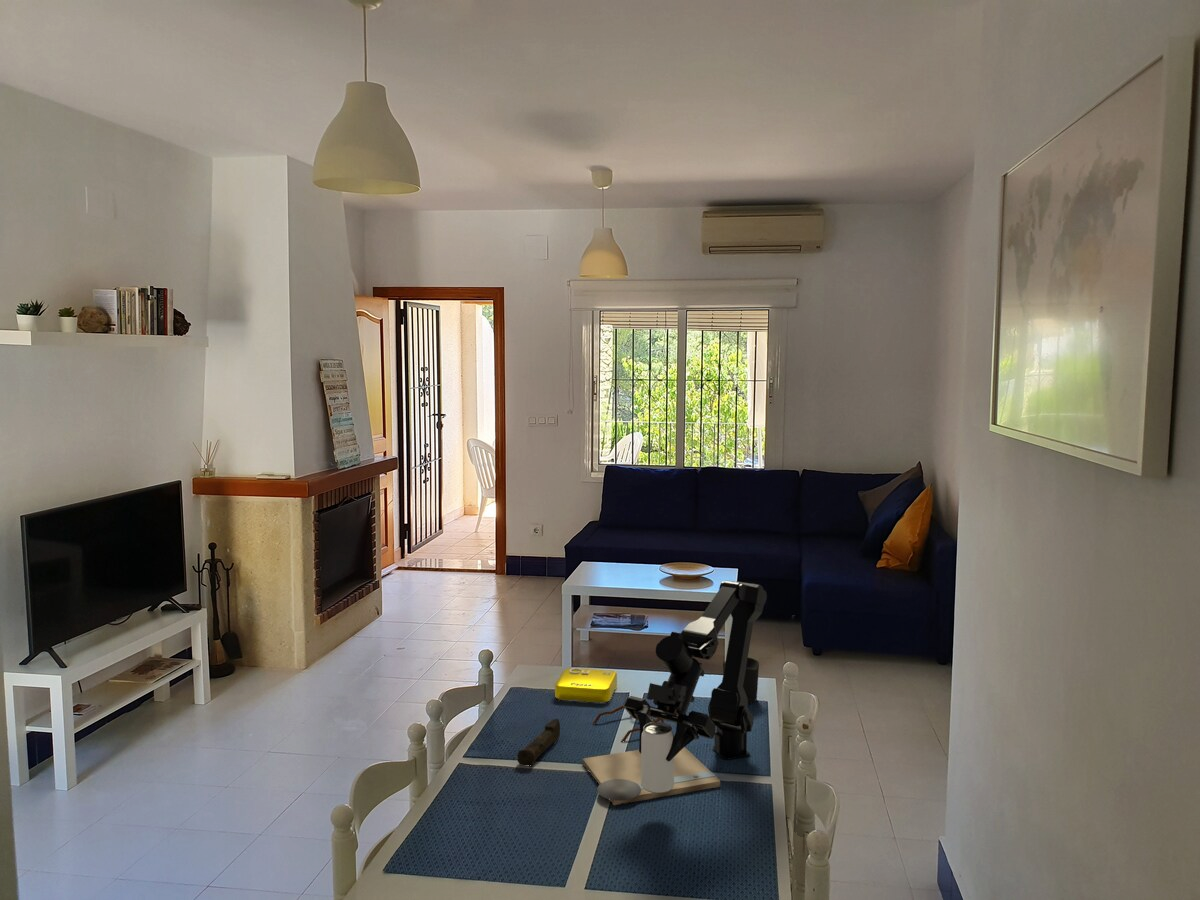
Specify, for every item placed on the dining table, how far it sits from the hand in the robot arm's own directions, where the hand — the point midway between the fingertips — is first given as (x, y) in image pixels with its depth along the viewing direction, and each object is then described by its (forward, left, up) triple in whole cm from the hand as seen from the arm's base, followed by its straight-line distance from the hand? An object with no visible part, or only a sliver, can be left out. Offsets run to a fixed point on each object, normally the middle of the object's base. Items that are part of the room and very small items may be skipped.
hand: (653, 756), depth 173 cm
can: (-1, -1, -7) cm, 7 cm away
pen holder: (-46, -50, -12) cm, 69 cm away
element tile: (-9, -68, -13) cm, 70 cm away
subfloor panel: (-5, -16, -12) cm, 21 cm away
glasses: (-11, -42, -13) cm, 46 cm away
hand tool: (+13, -37, -13) cm, 41 cm away
